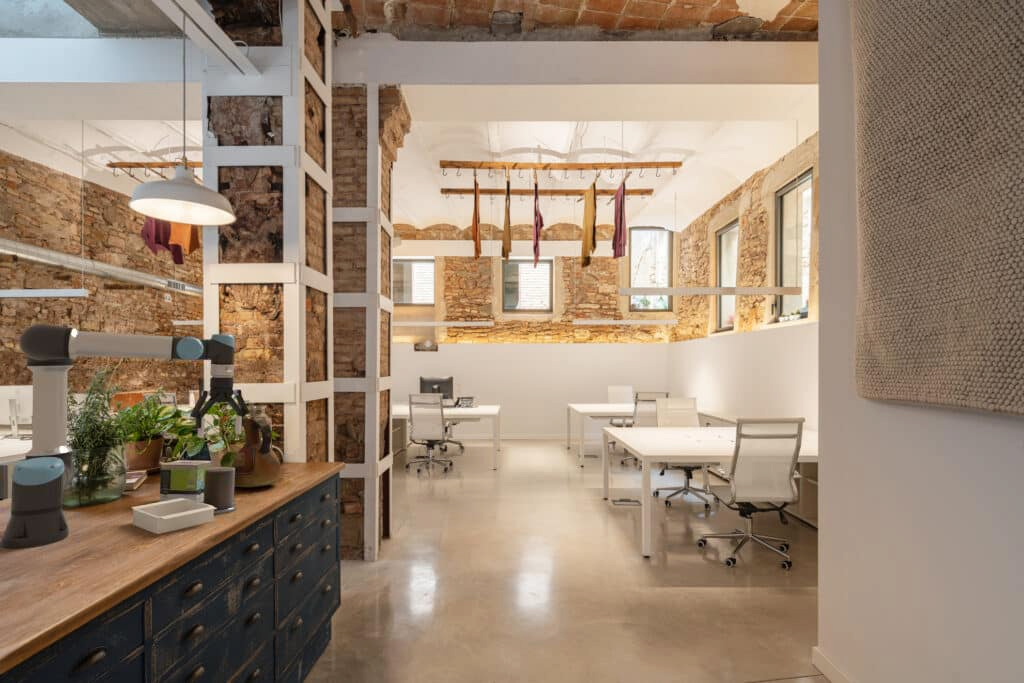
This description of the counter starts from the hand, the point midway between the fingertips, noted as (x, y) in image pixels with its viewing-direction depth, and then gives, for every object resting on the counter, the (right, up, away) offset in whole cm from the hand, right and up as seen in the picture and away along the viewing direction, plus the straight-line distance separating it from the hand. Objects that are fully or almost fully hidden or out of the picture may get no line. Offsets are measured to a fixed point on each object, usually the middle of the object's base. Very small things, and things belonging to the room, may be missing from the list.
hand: (220, 435), depth 201 cm
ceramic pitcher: (-4, -28, +36) cm, 46 cm away
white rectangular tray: (-6, -26, -17) cm, 32 cm away
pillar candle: (0, -26, -1) cm, 26 cm away
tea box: (-19, -27, +12) cm, 35 cm away
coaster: (0, -27, -1) cm, 27 cm away
